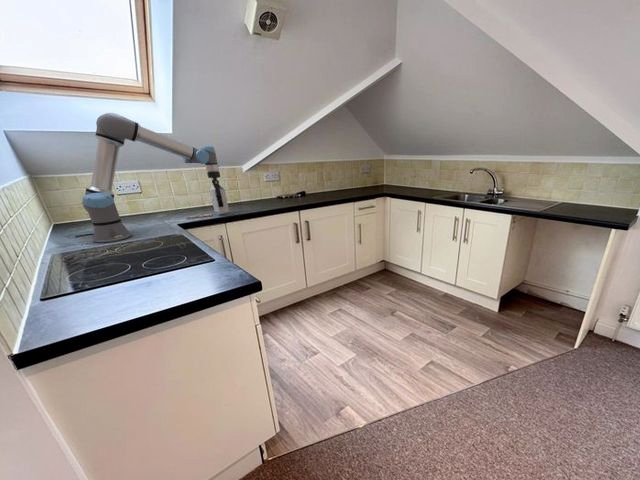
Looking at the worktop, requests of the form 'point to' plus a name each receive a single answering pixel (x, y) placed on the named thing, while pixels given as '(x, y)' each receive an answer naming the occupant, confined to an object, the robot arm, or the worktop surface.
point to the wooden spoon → (200, 216)
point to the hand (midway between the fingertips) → (220, 205)
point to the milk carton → (215, 200)
